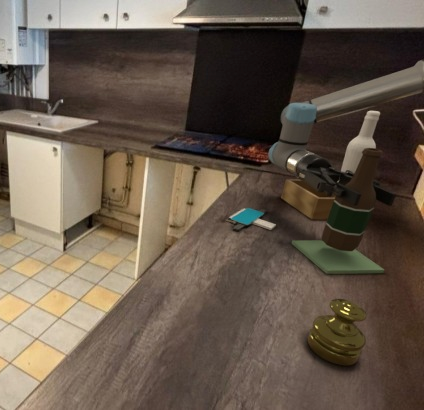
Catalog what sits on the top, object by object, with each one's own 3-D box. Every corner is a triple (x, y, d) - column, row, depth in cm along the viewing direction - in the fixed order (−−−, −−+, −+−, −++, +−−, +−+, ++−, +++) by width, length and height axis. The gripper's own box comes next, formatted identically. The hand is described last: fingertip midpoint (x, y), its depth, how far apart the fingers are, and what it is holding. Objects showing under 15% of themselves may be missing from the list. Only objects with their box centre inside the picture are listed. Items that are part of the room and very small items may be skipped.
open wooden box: (364, 219, 111) (372, 198, 108) (311, 219, 110) (318, 198, 107) (326, 198, 127) (333, 179, 124) (280, 198, 126) (286, 179, 123)
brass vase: (346, 374, 57) (368, 326, 53) (298, 345, 63) (315, 299, 59) (364, 354, 61) (385, 307, 57) (317, 328, 67) (334, 284, 63)
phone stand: (258, 239, 97) (260, 234, 97) (218, 224, 105) (219, 219, 104) (285, 218, 110) (287, 213, 109) (247, 206, 118) (248, 201, 117)
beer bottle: (356, 241, 90) (392, 148, 80) (359, 255, 83) (399, 156, 74) (320, 233, 93) (351, 143, 83) (320, 246, 87) (354, 150, 77)
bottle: (336, 198, 127) (365, 112, 115) (328, 190, 134) (354, 108, 122) (362, 201, 125) (394, 114, 113) (352, 192, 132) (381, 110, 120)
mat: (383, 273, 84) (384, 269, 84) (326, 274, 83) (327, 270, 83) (340, 243, 97) (341, 240, 96) (291, 243, 96) (292, 240, 95)
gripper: (339, 180, 101) (411, 215, 80) (270, 179, 100) (325, 215, 79) (348, 154, 98) (425, 184, 77) (277, 153, 97) (336, 183, 76)
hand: (375, 199), depth 78 cm, fingers closed on beer bottle, 7 cm apart
